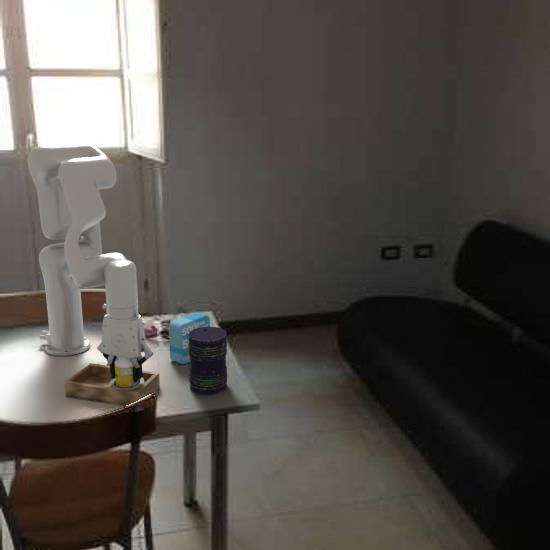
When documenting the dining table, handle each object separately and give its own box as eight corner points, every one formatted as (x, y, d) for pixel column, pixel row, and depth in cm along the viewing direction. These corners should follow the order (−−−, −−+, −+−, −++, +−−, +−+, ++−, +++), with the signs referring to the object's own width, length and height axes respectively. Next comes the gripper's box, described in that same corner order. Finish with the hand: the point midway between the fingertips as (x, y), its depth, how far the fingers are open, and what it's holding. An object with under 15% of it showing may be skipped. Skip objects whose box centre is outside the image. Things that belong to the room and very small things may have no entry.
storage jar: (231, 393, 168) (230, 339, 164) (193, 398, 166) (191, 343, 161) (223, 376, 178) (222, 324, 173) (186, 380, 175) (185, 328, 171)
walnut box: (65, 396, 166) (64, 382, 164) (91, 376, 177) (90, 363, 175) (137, 408, 160) (137, 393, 159) (159, 387, 171) (159, 373, 170)
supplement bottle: (117, 382, 169) (115, 346, 166) (138, 381, 170) (137, 346, 167) (114, 392, 164) (112, 355, 161) (137, 391, 164) (135, 355, 162)
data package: (180, 366, 184) (179, 326, 180) (169, 361, 186) (168, 322, 183) (210, 352, 193) (210, 314, 189) (199, 348, 195) (198, 310, 192)
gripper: (83, 311, 160) (88, 380, 165) (147, 319, 155) (150, 389, 160) (99, 302, 167) (104, 367, 172) (161, 309, 162) (164, 376, 167)
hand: (126, 377), depth 166 cm, fingers closed on supplement bottle, 5 cm apart
